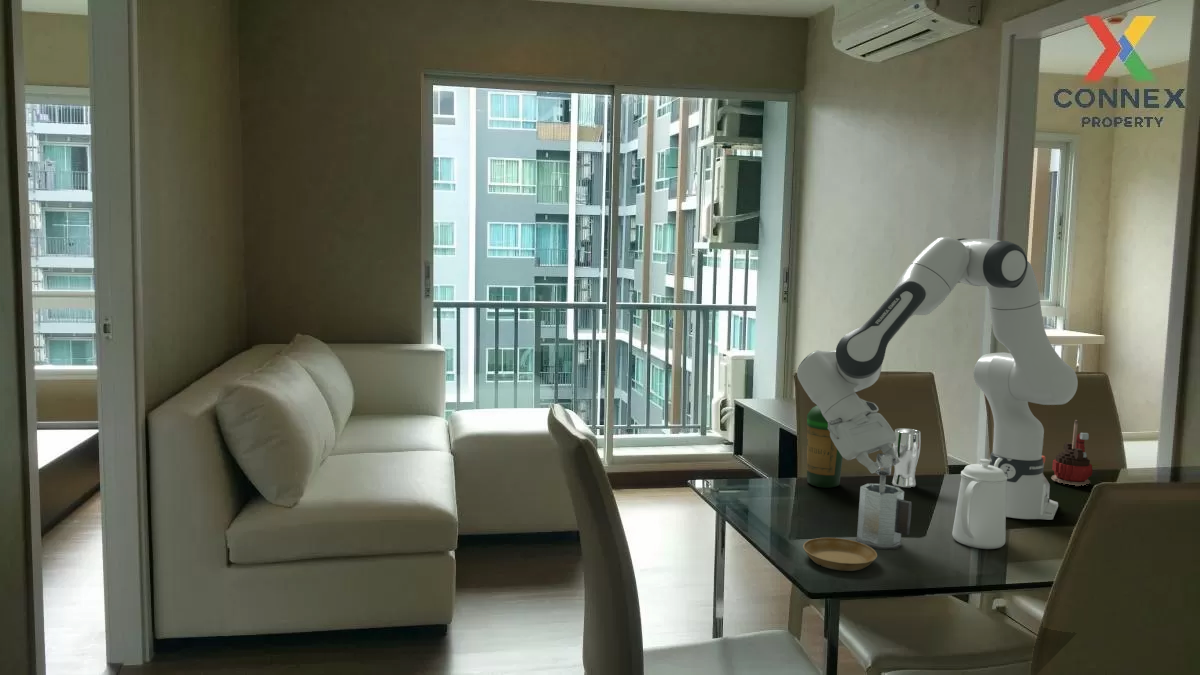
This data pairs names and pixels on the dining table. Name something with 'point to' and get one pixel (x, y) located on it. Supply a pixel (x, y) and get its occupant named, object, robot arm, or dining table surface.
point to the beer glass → (906, 456)
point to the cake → (1073, 462)
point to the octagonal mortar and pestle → (883, 517)
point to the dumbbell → (883, 469)
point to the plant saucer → (839, 553)
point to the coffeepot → (981, 506)
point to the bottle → (821, 452)
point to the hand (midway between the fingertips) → (886, 467)
